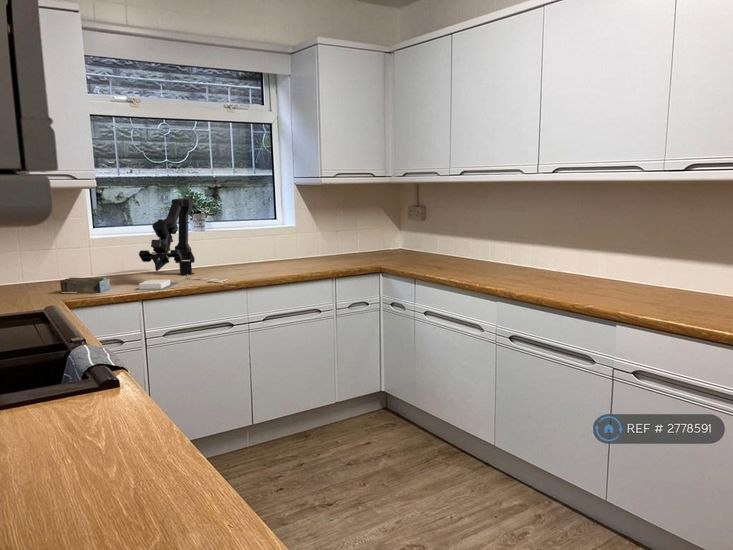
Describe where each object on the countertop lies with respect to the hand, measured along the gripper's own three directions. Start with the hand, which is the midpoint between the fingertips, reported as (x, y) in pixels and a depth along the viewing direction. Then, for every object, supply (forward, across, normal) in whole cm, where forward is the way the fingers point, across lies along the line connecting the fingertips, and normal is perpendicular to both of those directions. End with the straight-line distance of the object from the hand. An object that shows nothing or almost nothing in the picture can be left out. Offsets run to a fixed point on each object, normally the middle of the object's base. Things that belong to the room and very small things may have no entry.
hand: (156, 270), depth 269 cm
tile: (+2, 0, +6) cm, 7 cm away
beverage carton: (+14, -28, -2) cm, 31 cm away
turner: (-6, +17, +16) cm, 24 cm away
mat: (+6, 0, +5) cm, 8 cm away
